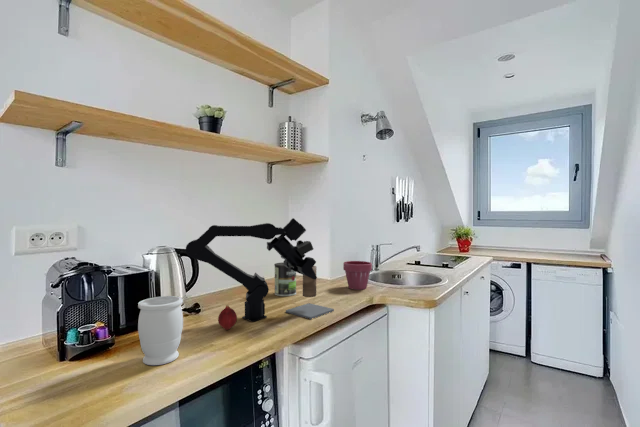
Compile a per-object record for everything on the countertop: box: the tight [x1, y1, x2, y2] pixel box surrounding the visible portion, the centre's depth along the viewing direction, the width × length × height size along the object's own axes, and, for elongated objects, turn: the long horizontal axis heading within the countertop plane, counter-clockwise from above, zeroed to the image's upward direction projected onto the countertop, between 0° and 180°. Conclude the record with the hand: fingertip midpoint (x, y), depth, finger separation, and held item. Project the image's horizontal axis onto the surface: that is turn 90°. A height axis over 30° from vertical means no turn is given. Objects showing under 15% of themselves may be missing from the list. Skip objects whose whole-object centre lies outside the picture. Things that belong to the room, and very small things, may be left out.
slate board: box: [285, 302, 335, 320], centre depth 123 cm, size 13×13×1 cm
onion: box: [217, 304, 238, 331], centre depth 104 cm, size 6×6×8 cm
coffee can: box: [273, 261, 297, 297], centre depth 152 cm, size 10×10×14 cm
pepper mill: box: [302, 265, 317, 298], centre depth 123 cm, size 5×5×13 cm
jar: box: [137, 295, 184, 366], centre depth 83 cm, size 11×10×15 cm
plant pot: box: [342, 260, 373, 291], centre depth 164 cm, size 14×14×13 cm
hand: (312, 277), depth 124 cm, fingers closed on pepper mill, 5 cm apart
